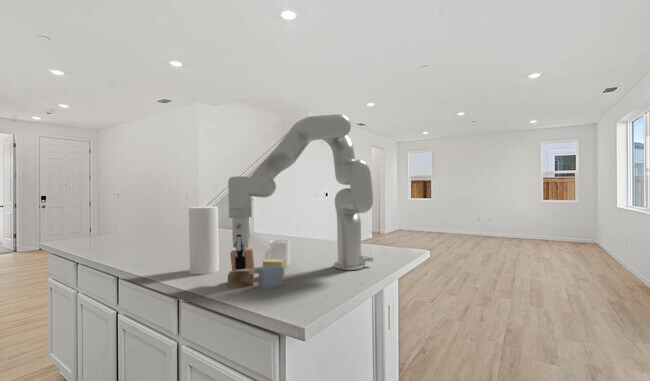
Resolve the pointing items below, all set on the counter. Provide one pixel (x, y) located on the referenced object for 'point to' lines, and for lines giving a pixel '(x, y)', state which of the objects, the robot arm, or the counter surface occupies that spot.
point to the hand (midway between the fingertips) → (241, 266)
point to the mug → (279, 251)
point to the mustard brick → (275, 263)
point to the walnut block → (241, 278)
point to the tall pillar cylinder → (203, 239)
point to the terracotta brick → (248, 259)
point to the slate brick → (270, 276)
